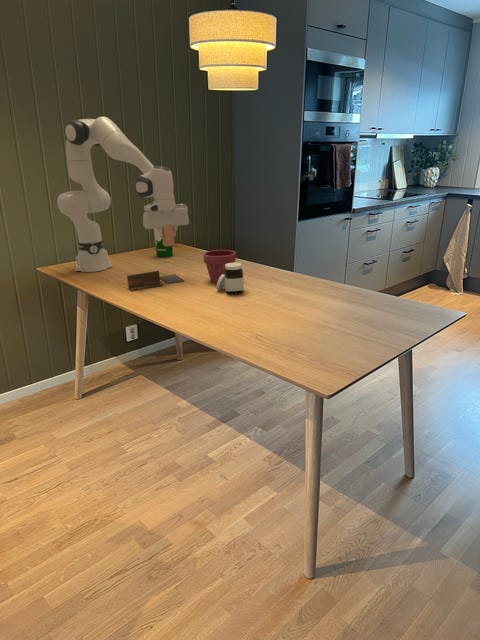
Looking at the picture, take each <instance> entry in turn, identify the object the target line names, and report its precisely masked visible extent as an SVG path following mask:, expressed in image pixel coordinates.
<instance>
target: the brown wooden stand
mask: <svg viewBox="0 0 480 640" xmlns="http://www.w3.org/2000/svg"><path fill="white" fill-rule="evenodd" d="M160 277H161V276H160V271H159V270H155V271H149V272H148V271H147V272H141V273H136V274H135V273H134V274H129V275H128V274H127V275H126V278H127V279H126V280H127V287H128V288H127V289H128V290H129V291H130V292H137V291H143V290H148V289H154V288H159V287H164V284H163V283H161V279H160Z"/></svg>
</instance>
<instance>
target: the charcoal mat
mask: <svg viewBox="0 0 480 640" xmlns="http://www.w3.org/2000/svg"><path fill="white" fill-rule="evenodd" d="M160 281H162V282H163V283H164V282H165V284H167V285H171V284H176V283H180V282H181V283H182V282H185V279H184V278H183V277H180V276H179V275H177V274H176V273H175V274H169V275H163V276H160Z"/></svg>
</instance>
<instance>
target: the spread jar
mask: <svg viewBox="0 0 480 640" xmlns="http://www.w3.org/2000/svg"><path fill="white" fill-rule="evenodd" d="M215 287H216V290H218V291H221V290H223V288H224V291H225V293H226V294H228V295H240V294H243V293H244V290H245V287H244V271H243V264H242V262H234V263H227V264H225V275H224V274H222V275H221V276H220V278H219V279H218V282H217V283H216V286H215Z"/></svg>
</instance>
